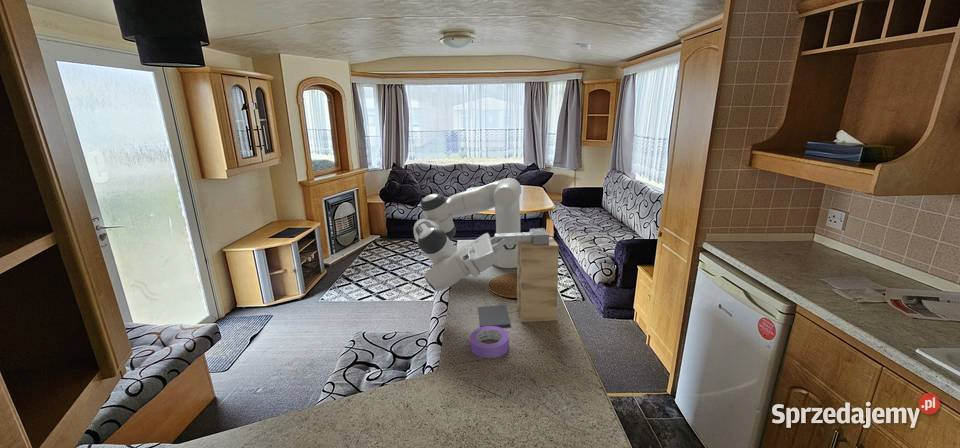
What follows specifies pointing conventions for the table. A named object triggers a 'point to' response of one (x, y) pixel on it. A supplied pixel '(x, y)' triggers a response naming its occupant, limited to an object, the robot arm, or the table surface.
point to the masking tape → (489, 349)
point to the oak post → (537, 281)
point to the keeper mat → (494, 316)
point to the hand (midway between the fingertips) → (505, 237)
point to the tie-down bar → (525, 237)
